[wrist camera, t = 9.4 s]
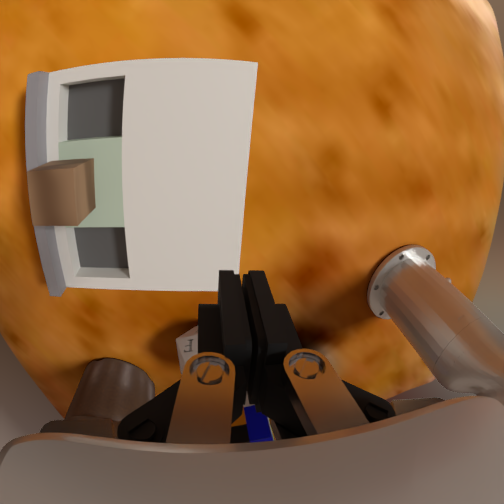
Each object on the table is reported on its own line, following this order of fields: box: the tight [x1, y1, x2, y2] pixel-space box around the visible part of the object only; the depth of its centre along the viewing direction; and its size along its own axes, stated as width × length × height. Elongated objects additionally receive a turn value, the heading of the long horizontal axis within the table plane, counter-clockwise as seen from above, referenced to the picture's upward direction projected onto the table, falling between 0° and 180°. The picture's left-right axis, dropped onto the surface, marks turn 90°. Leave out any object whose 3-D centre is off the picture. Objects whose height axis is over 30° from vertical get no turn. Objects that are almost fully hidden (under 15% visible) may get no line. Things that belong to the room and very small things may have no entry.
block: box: [27, 158, 96, 226], centre depth 22 cm, size 5×5×5 cm
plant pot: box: [64, 358, 155, 421], centre depth 34 cm, size 16×16×16 cm
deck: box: [25, 58, 258, 297], centre depth 26 cm, size 22×24×4 cm
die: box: [176, 325, 198, 374], centre depth 35 cm, size 8×9×10 cm
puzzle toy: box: [230, 394, 274, 444], centre depth 43 cm, size 10×10×10 cm
